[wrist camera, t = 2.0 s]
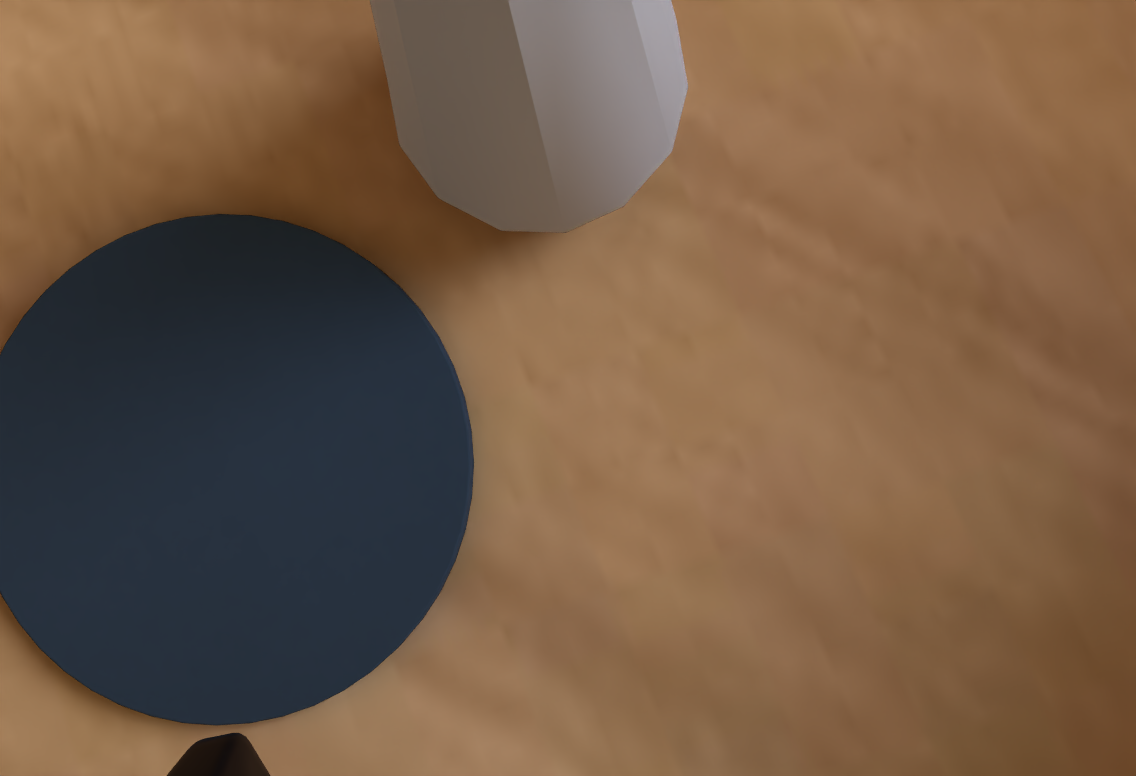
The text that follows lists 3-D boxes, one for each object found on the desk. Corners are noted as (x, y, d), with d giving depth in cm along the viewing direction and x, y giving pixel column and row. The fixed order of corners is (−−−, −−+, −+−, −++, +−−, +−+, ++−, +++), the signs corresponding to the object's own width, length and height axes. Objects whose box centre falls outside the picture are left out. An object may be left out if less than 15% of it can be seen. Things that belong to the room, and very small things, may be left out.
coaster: (402, 777, 20) (397, 786, 20) (-71, 644, 21) (-88, 649, 20) (528, 283, 20) (526, 280, 20) (59, 168, 21) (45, 162, 21)
